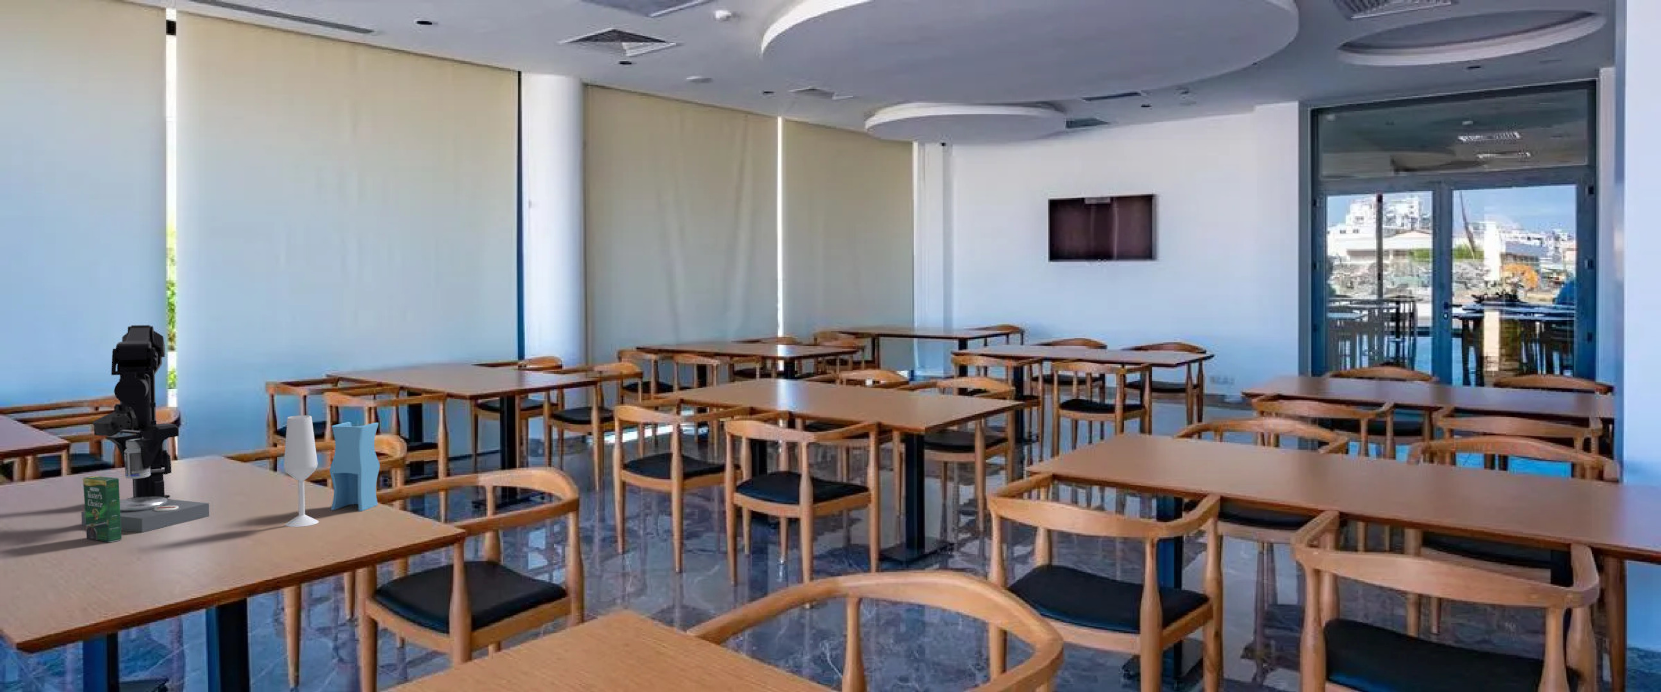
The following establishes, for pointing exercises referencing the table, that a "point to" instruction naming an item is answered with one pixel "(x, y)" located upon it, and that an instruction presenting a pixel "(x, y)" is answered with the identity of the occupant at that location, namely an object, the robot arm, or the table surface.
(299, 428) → the champagne flute
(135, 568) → the table surface
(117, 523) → the coffee box
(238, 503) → the table surface
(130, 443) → the pill bottle
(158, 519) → the scale
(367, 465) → the blue wavy hollow stand
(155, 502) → the scale pan
